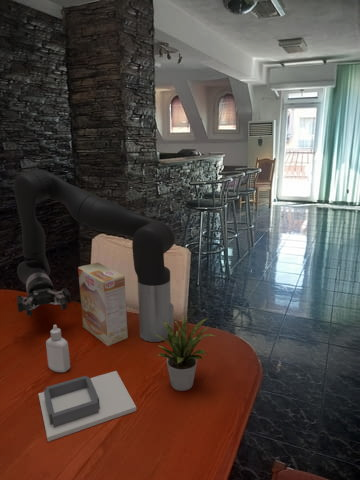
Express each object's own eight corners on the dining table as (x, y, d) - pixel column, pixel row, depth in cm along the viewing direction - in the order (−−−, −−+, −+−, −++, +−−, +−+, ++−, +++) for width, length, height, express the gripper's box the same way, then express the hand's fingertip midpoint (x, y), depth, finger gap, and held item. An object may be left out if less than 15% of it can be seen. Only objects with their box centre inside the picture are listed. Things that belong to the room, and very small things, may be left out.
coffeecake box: (82, 326, 113) (76, 267, 108) (102, 319, 118) (98, 261, 112) (107, 347, 102) (102, 281, 97) (128, 338, 107) (125, 275, 101)
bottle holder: (116, 374, 91) (115, 361, 90) (136, 410, 79) (135, 396, 78) (38, 397, 83) (37, 383, 82) (47, 441, 71) (45, 426, 70)
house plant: (223, 371, 91) (225, 312, 87) (209, 410, 79) (210, 342, 74) (169, 361, 96) (168, 303, 91) (148, 395, 83) (145, 330, 79)
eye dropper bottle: (55, 377, 90) (49, 333, 86) (47, 366, 94) (42, 323, 91) (72, 370, 92) (68, 327, 89) (63, 359, 97) (59, 318, 93)
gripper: (13, 280, 109) (17, 302, 96) (62, 273, 116) (73, 292, 102) (16, 303, 112) (20, 328, 98) (64, 294, 118) (75, 317, 104)
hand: (47, 310), depth 100 cm, fingers open, 8 cm apart
